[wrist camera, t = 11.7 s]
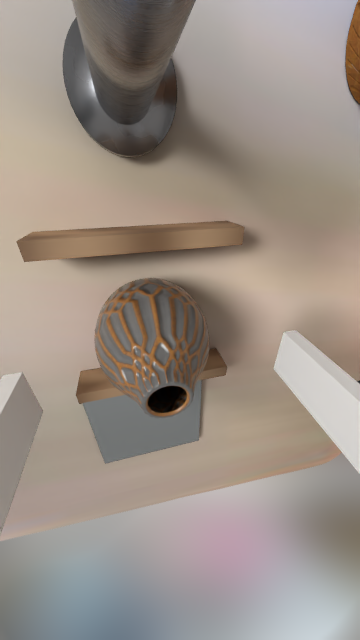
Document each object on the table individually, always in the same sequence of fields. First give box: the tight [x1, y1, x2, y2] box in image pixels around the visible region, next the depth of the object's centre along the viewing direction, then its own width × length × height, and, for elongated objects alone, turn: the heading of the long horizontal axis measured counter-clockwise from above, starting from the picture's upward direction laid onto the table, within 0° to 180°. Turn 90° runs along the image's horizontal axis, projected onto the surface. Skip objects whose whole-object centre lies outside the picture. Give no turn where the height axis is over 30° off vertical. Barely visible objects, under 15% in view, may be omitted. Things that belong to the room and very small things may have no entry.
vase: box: [95, 278, 209, 418], centre depth 14 cm, size 7×7×9 cm
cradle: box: [16, 221, 244, 404], centre depth 16 cm, size 12×12×2 cm
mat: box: [83, 380, 202, 464], centre depth 24 cm, size 11×11×1 cm
